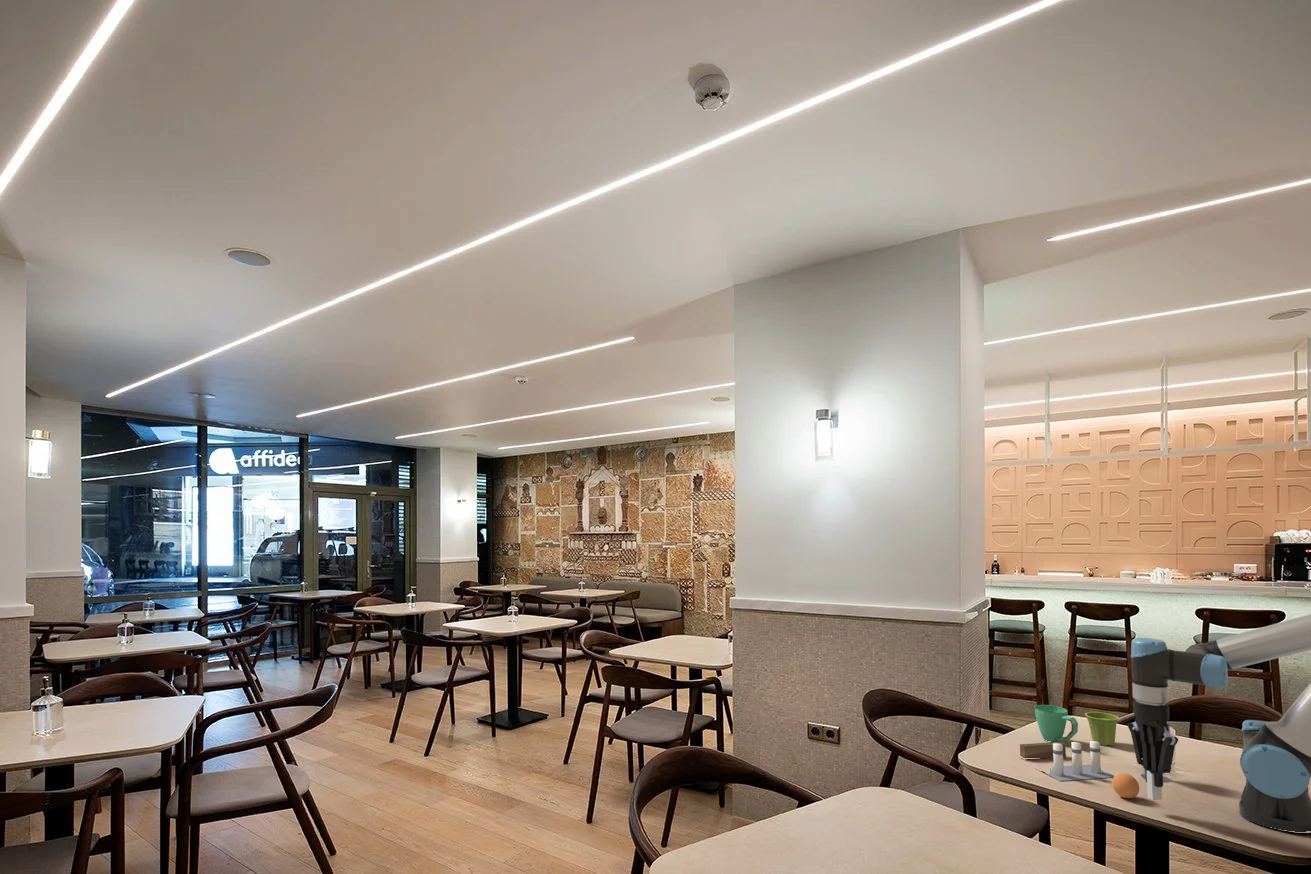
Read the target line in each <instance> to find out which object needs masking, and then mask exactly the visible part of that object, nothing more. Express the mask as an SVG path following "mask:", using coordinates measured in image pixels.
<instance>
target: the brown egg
mask: <svg viewBox="0 0 1311 874" xmlns="http://www.w3.org/2000/svg"><path fill="white" fill-rule="evenodd" d="M1111 786H1112V788H1113V790H1114V792H1115V793H1116V794H1117V795H1118V796H1120V797H1121V798H1124V799H1133V798H1135V797H1137V796H1138V794H1139V792H1140V784H1139V782H1138V781H1137V779H1136V778H1135V777H1134V776H1132V774H1131V775H1130V774H1129V773H1125V772H1124V773H1123V772H1121V773H1117V774H1116V775H1114V778H1112V782H1111Z"/></svg>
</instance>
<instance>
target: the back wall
mask: <svg viewBox="0 0 1311 874" xmlns="http://www.w3.org/2000/svg"><path fill="white" fill-rule="evenodd" d="M1053 743H1059V744H1062V746H1063V759H1064V758H1065V757H1066V758H1067V749H1066V743H1064V742H1063V741H1061V742H1035V743H1020V744H1019V752H1020V756H1022V757H1023V758H1051V759H1054V757H1053ZM1066 758H1065V759H1066Z"/></svg>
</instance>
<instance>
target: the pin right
mask: <svg viewBox="0 0 1311 874" xmlns="http://www.w3.org/2000/svg"><path fill="white" fill-rule="evenodd" d="M1100 746H1101V745H1100V744H1099V742H1096V741H1092V740H1090V741H1089V751H1090V752H1089V753H1090V765H1091V772H1092V773H1096V774H1101V770H1102V766H1101V765H1102V764H1101V747H1100Z"/></svg>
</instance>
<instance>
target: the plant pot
mask: <svg viewBox="0 0 1311 874" xmlns="http://www.w3.org/2000/svg"><path fill="white" fill-rule="evenodd" d="M1084 714H1085V715H1084V716H1085V717H1086V719H1087V721H1088V725H1089V730H1090V734H1091V735H1090V736H1091V741H1096V742H1099V744H1100V746H1111V747H1112V746H1115V743H1116V733H1117V724H1118V721H1119V720H1120V718H1119V716H1117V715H1115V714H1111V713H1107V712H1100V711H1099V712H1098V711H1090V712H1085V713H1084Z"/></svg>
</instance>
